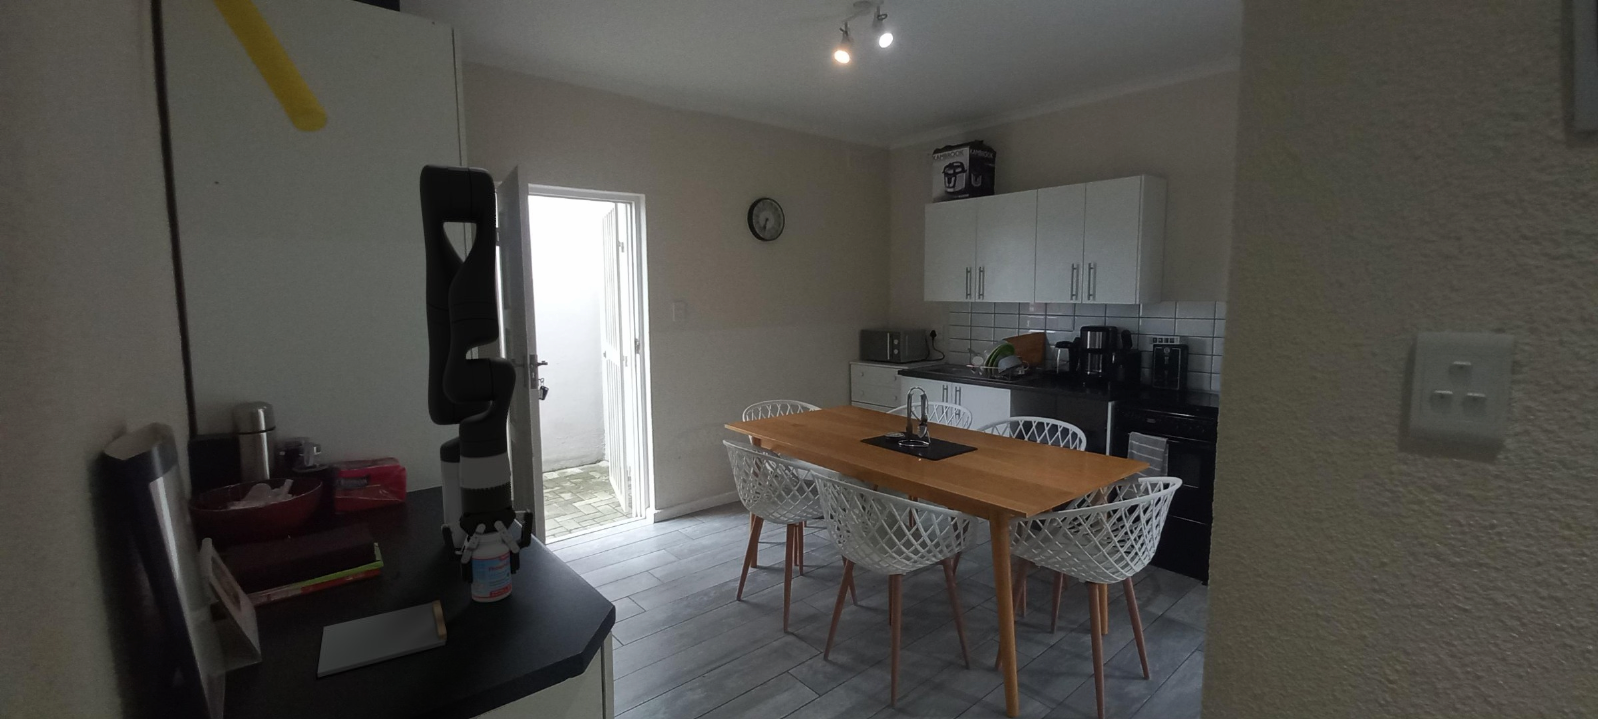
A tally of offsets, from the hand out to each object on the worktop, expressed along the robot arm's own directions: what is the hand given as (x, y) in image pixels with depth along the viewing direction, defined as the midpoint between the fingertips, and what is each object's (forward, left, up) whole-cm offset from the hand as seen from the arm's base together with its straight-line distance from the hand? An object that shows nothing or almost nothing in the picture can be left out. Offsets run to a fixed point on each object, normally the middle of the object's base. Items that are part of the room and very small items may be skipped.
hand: (491, 577), depth 111 cm
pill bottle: (0, 0, -3) cm, 3 cm away
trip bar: (+6, -8, -3) cm, 11 cm away
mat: (+6, -15, -3) cm, 17 cm away
